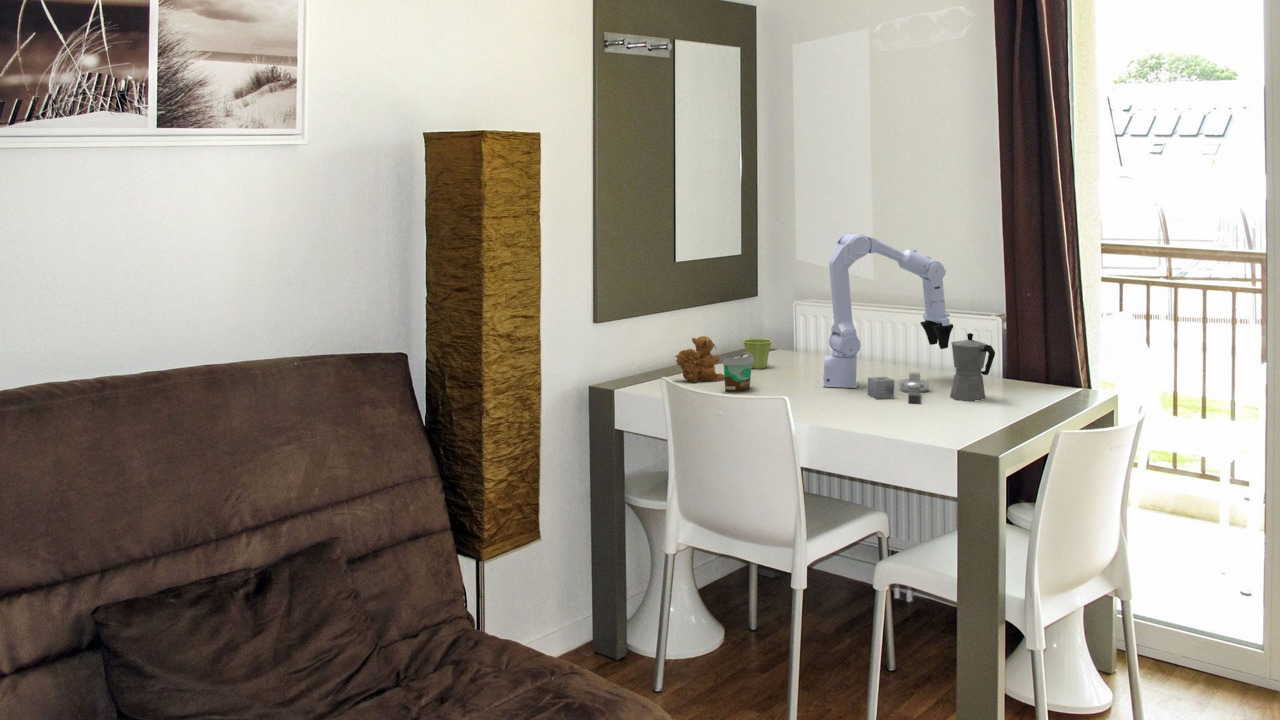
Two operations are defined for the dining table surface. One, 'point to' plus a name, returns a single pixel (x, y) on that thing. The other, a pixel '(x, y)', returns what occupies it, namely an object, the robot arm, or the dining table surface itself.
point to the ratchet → (914, 386)
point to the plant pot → (758, 351)
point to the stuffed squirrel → (699, 361)
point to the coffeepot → (970, 368)
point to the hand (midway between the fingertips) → (938, 346)
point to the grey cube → (880, 387)
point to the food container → (738, 372)
